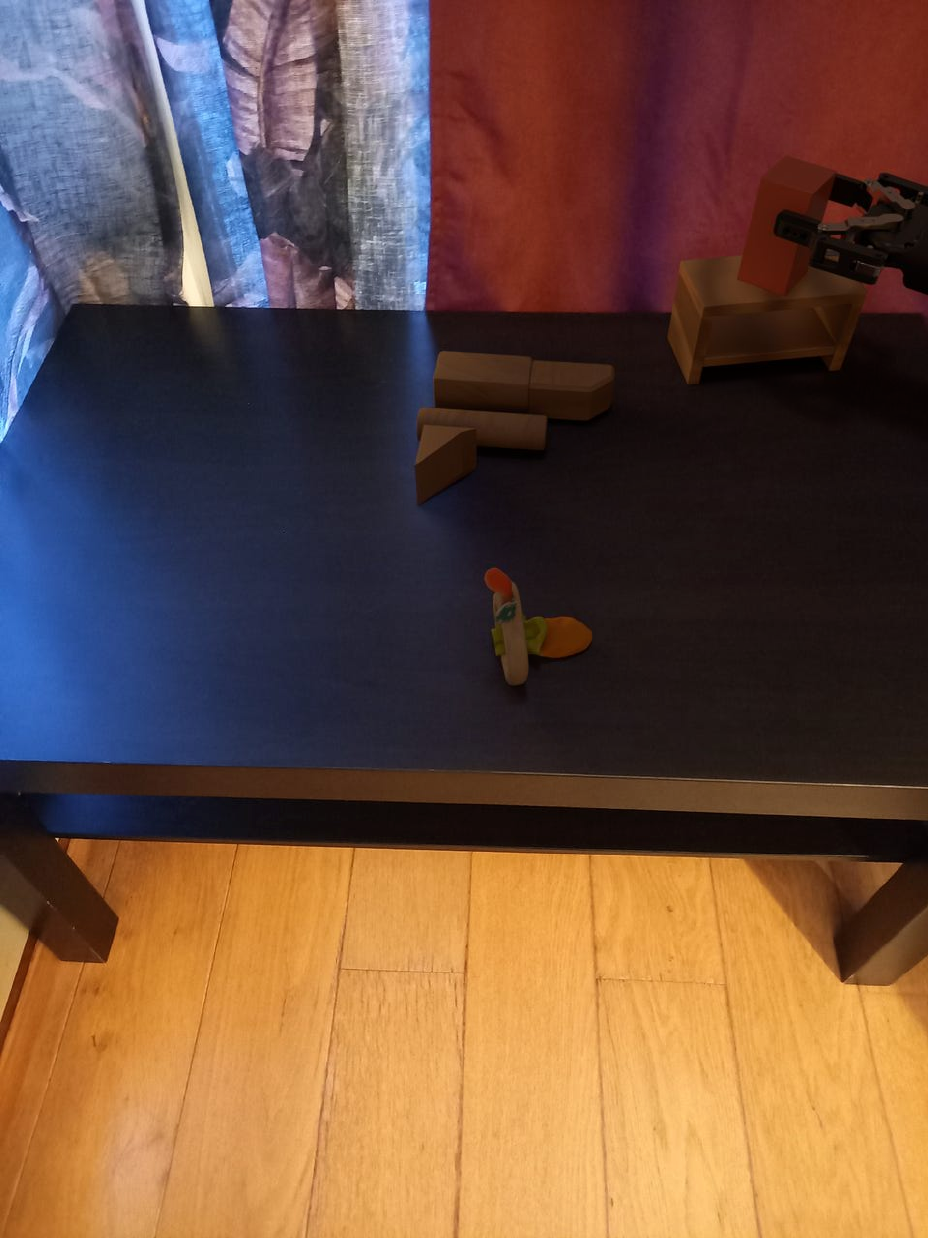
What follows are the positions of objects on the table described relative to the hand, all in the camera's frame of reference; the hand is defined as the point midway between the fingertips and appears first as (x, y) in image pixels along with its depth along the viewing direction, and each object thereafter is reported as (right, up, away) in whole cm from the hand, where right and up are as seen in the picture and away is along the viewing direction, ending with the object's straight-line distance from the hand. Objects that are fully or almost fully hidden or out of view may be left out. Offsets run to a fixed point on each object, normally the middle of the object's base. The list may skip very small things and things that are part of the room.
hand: (798, 201), depth 85 cm
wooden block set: (-26, -22, +5) cm, 34 cm away
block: (-1, -5, +6) cm, 8 cm away
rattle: (-24, -41, -11) cm, 49 cm away
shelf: (0, -10, +13) cm, 17 cm away
